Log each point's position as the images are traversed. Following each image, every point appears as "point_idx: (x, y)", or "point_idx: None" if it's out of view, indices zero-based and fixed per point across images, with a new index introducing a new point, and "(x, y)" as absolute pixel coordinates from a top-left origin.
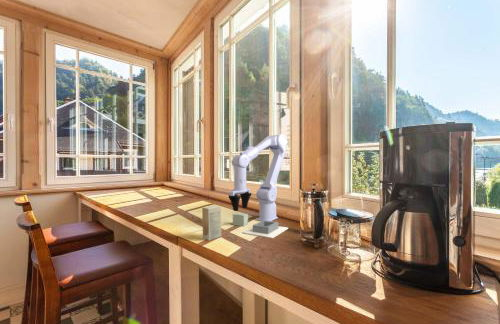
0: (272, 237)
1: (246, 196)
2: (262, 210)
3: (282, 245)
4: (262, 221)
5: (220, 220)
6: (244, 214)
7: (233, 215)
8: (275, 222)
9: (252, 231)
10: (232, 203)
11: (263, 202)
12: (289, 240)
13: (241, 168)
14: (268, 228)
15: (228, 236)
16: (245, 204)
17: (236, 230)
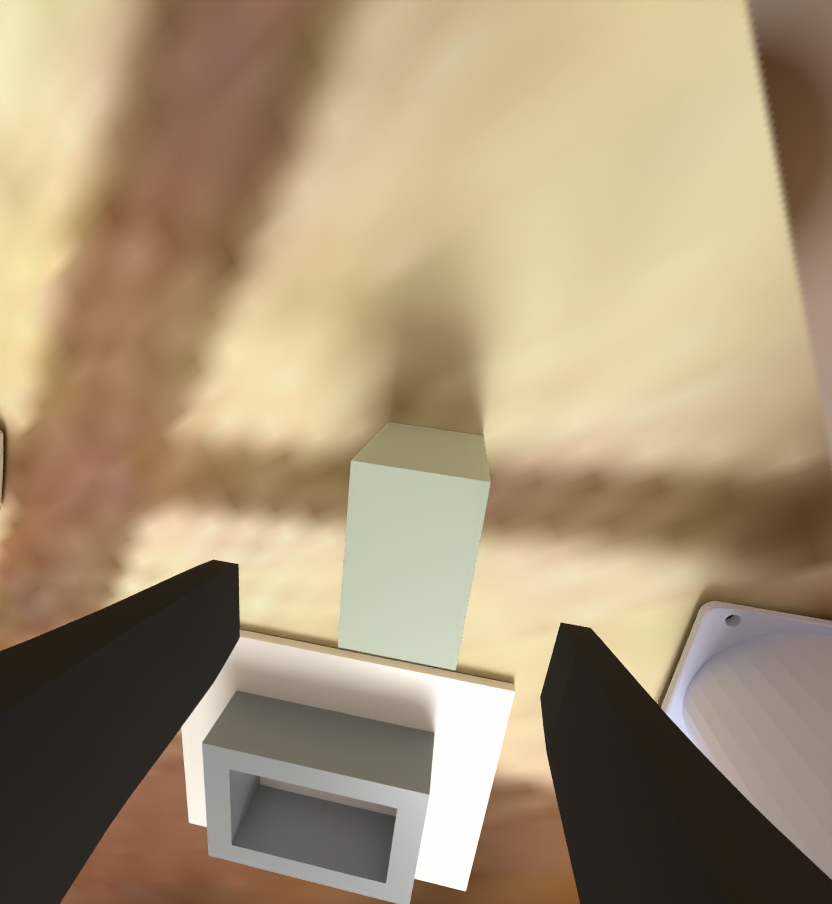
0: (189, 822)
1: None
2: (776, 816)
3: (125, 863)
4: (376, 792)
5: None
6: (412, 634)
7: (357, 463)
8: (392, 887)
9: (234, 689)
10: (24, 671)
11: None
12: (217, 888)
13: None
14: (214, 846)
15: (51, 552)
16: (565, 773)
17: (217, 547)
